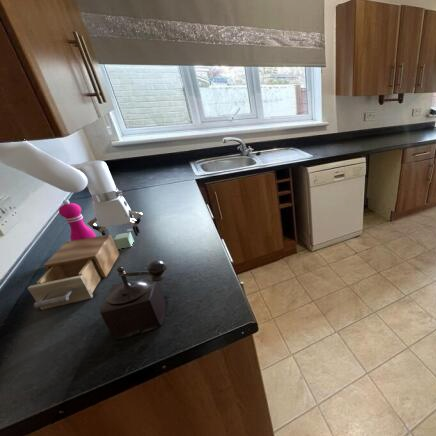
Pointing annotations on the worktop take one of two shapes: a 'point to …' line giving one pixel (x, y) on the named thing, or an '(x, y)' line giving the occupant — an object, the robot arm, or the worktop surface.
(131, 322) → the manual coffee grinder
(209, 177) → the worktop surface
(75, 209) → the pepper mill
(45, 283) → the drawer
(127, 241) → the block
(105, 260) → the cabinet
